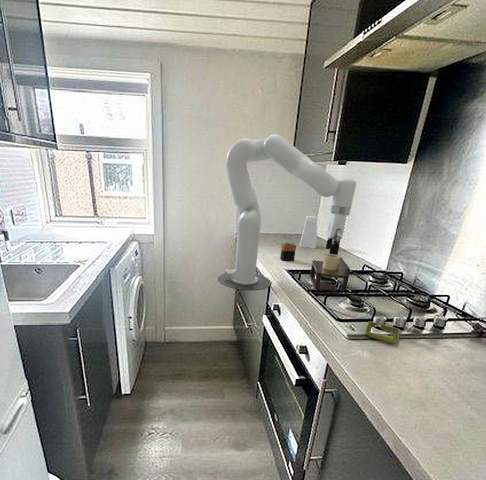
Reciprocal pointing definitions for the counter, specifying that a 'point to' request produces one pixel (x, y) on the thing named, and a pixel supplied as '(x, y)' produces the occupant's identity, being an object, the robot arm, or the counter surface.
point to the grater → (309, 235)
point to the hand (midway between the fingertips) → (331, 251)
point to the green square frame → (383, 337)
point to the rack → (329, 275)
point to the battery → (288, 251)
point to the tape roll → (331, 262)
